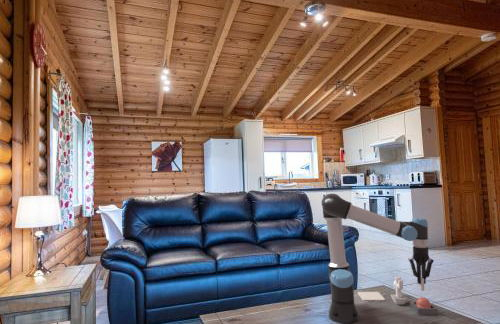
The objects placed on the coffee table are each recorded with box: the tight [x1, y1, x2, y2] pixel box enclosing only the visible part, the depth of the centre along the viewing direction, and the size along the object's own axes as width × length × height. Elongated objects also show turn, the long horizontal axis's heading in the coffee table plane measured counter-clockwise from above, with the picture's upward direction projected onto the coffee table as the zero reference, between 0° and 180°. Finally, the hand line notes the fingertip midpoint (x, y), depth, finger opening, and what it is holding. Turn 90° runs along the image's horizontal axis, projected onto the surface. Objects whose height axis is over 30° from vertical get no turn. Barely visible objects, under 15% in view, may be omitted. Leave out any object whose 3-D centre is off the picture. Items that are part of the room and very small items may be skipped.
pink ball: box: [415, 296, 432, 308], centre depth 178 cm, size 7×7×7 cm
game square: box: [357, 291, 386, 302], centre depth 200 cm, size 13×13×1 cm
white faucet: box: [390, 276, 408, 305], centre depth 190 cm, size 7×9×15 cm
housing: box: [409, 301, 439, 316], centre depth 178 cm, size 10×10×3 cm
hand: (421, 289), depth 178 cm, fingers closed
